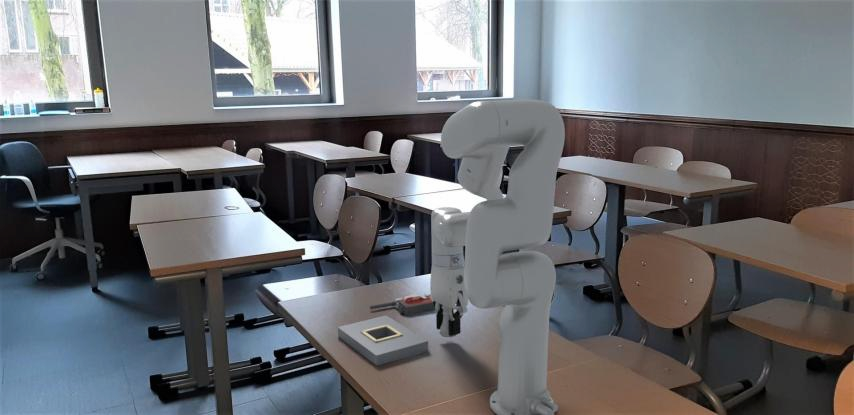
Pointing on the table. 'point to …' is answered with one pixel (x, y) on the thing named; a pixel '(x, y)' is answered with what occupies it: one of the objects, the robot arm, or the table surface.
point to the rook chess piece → (445, 323)
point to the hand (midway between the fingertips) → (448, 330)
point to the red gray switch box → (410, 304)
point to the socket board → (382, 340)
